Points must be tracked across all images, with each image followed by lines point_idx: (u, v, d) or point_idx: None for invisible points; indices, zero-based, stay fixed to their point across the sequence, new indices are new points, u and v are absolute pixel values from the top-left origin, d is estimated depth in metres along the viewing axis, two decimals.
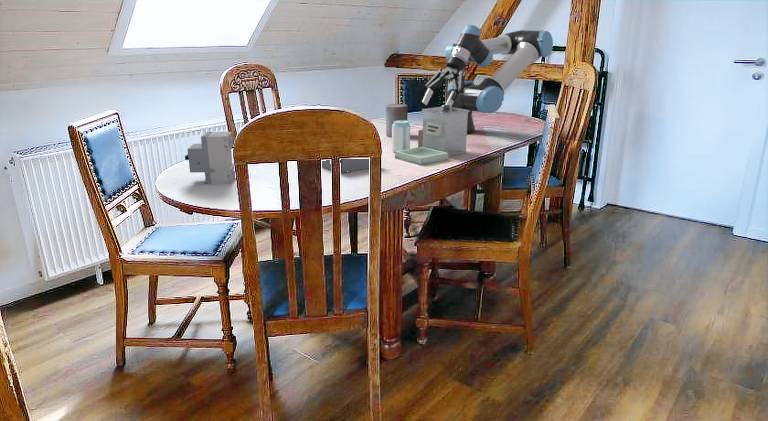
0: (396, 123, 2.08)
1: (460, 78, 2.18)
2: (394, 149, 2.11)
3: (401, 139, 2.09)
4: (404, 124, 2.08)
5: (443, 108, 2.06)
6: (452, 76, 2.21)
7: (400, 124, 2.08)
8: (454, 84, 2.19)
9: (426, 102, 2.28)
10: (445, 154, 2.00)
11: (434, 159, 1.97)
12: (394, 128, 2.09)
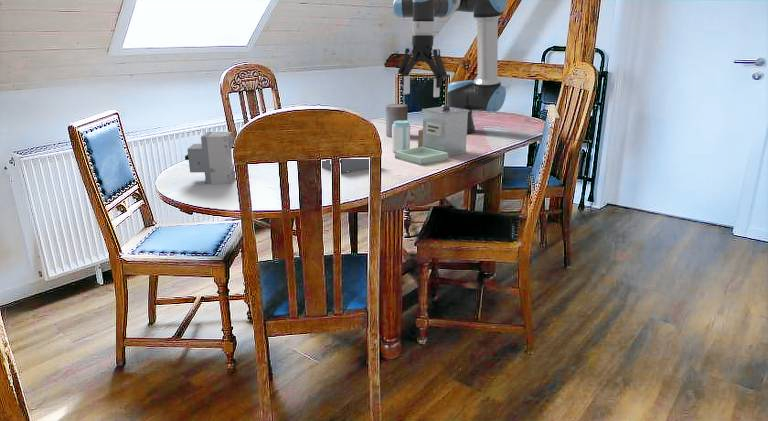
0: (396, 123, 2.08)
1: (437, 61, 1.89)
2: (394, 149, 2.11)
3: (401, 139, 2.09)
4: (404, 124, 2.08)
5: (443, 108, 2.06)
6: (426, 59, 1.92)
7: (400, 124, 2.08)
8: (433, 69, 1.91)
9: (408, 91, 2.03)
10: (445, 154, 2.00)
11: (434, 159, 1.97)
12: (394, 128, 2.09)
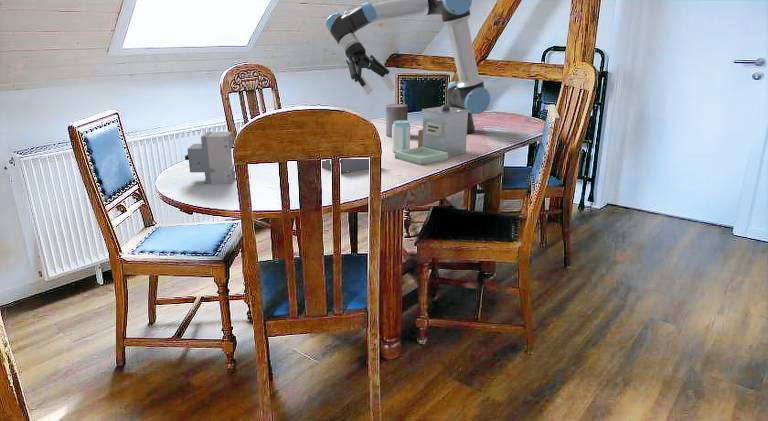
0: (396, 123, 2.08)
1: None
2: (394, 149, 2.11)
3: (401, 139, 2.09)
4: (404, 124, 2.08)
5: (443, 108, 2.06)
6: None
7: (400, 124, 2.08)
8: None
9: (392, 86, 2.11)
10: (445, 154, 2.00)
11: (434, 159, 1.97)
12: (394, 128, 2.09)
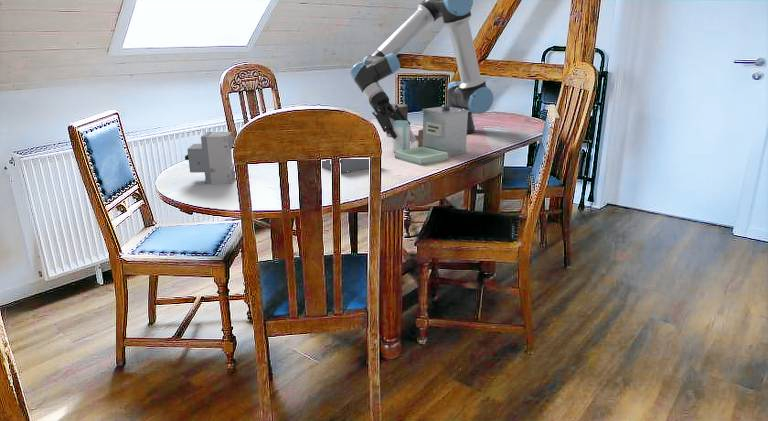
0: (396, 123, 2.08)
1: None
2: (394, 149, 2.11)
3: None
4: (404, 124, 2.08)
5: (443, 108, 2.06)
6: None
7: (400, 124, 2.08)
8: None
9: (413, 139, 2.13)
10: (445, 154, 2.00)
11: (434, 159, 1.97)
12: (394, 128, 2.09)
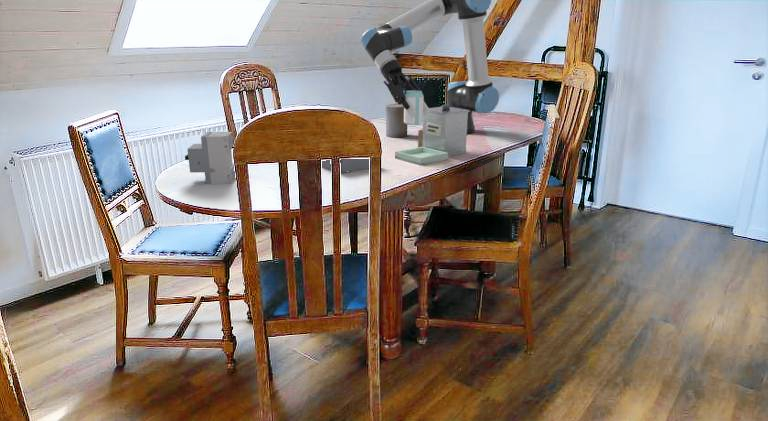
0: (409, 93, 1.96)
1: None
2: (406, 121, 1.99)
3: None
4: (417, 94, 1.95)
5: (443, 108, 2.06)
6: None
7: (413, 94, 1.95)
8: None
9: (426, 110, 2.00)
10: (445, 154, 2.00)
11: (434, 159, 1.97)
12: (406, 98, 1.96)
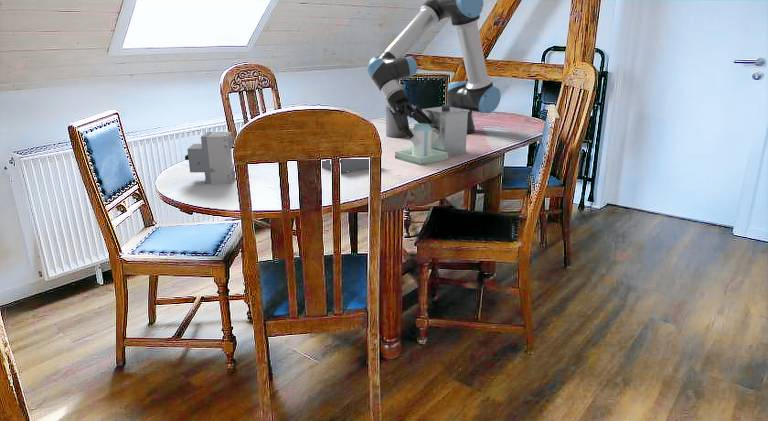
0: (417, 126, 1.97)
1: None
2: (415, 154, 2.00)
3: (422, 143, 1.97)
4: (426, 128, 1.96)
5: (443, 108, 2.06)
6: None
7: (421, 127, 1.96)
8: None
9: (435, 137, 2.02)
10: (445, 154, 2.00)
11: (434, 159, 1.97)
12: (415, 132, 1.97)
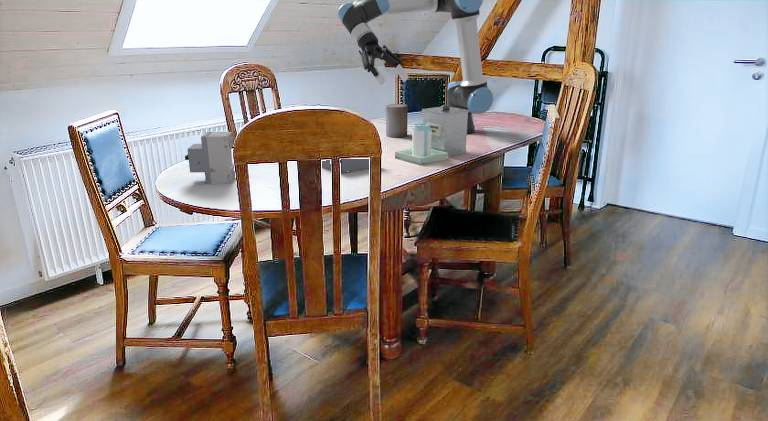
0: (417, 126, 1.97)
1: None
2: (414, 154, 2.00)
3: (422, 143, 1.97)
4: (425, 127, 1.96)
5: (443, 108, 2.06)
6: None
7: (421, 127, 1.96)
8: None
9: (405, 77, 2.07)
10: (445, 154, 2.00)
11: (434, 159, 1.97)
12: (415, 132, 1.97)
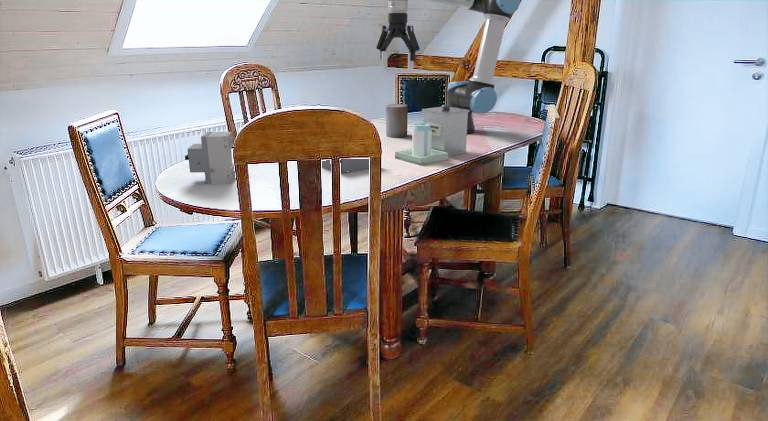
0: (417, 126, 1.97)
1: (410, 36, 2.08)
2: (415, 154, 2.00)
3: (422, 143, 1.97)
4: (425, 128, 1.96)
5: (443, 108, 2.06)
6: (401, 35, 2.10)
7: (421, 128, 1.96)
8: (407, 44, 2.10)
9: (386, 65, 2.22)
10: (445, 154, 2.00)
11: (434, 159, 1.97)
12: (415, 132, 1.97)
